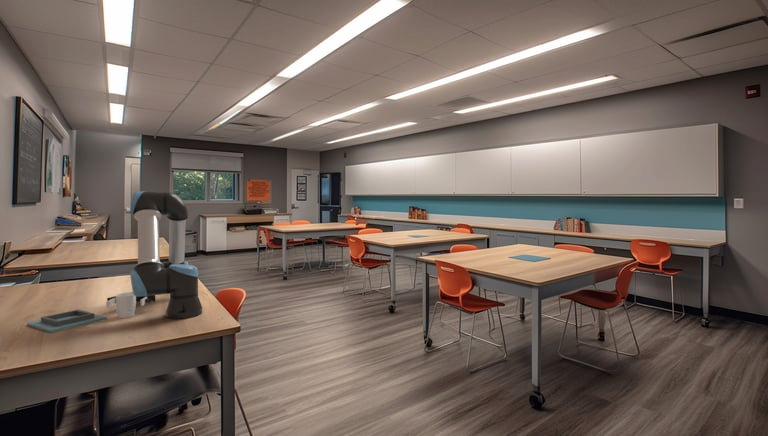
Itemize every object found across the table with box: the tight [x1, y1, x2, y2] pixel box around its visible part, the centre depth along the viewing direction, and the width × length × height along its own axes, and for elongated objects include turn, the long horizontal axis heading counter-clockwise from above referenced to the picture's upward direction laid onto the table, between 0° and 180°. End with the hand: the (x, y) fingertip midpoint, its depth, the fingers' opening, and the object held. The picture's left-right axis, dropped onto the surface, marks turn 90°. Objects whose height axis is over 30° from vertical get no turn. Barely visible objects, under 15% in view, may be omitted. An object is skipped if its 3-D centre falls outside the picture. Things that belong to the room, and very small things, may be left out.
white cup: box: [114, 291, 137, 319], centre depth 172 cm, size 8×8×10 cm
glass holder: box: [26, 309, 108, 334], centre depth 162 cm, size 20×20×3 cm
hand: (124, 303), depth 170 cm, fingers open, 13 cm apart
